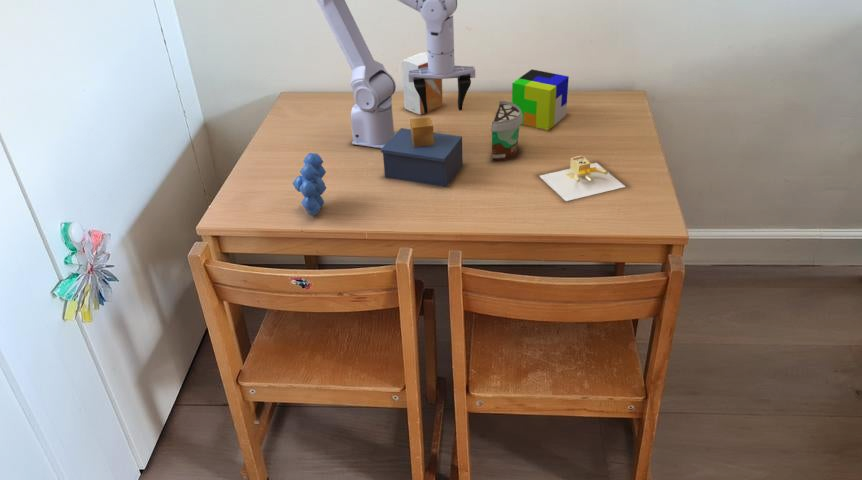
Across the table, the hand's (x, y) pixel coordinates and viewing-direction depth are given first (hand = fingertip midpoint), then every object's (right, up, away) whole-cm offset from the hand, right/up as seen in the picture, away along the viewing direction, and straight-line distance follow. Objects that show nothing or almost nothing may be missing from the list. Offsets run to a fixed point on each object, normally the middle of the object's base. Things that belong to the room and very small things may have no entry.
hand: (442, 110), depth 170 cm
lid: (-4, -9, -5) cm, 11 cm away
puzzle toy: (+24, +2, +19) cm, 31 cm away
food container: (+15, -9, +5) cm, 18 cm away
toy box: (-4, -14, -1) cm, 14 cm away
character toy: (+30, -17, -6) cm, 35 cm away
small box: (-5, +7, +27) cm, 28 cm away
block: (-4, -8, -5) cm, 11 cm away
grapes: (-27, -24, -12) cm, 38 cm away
